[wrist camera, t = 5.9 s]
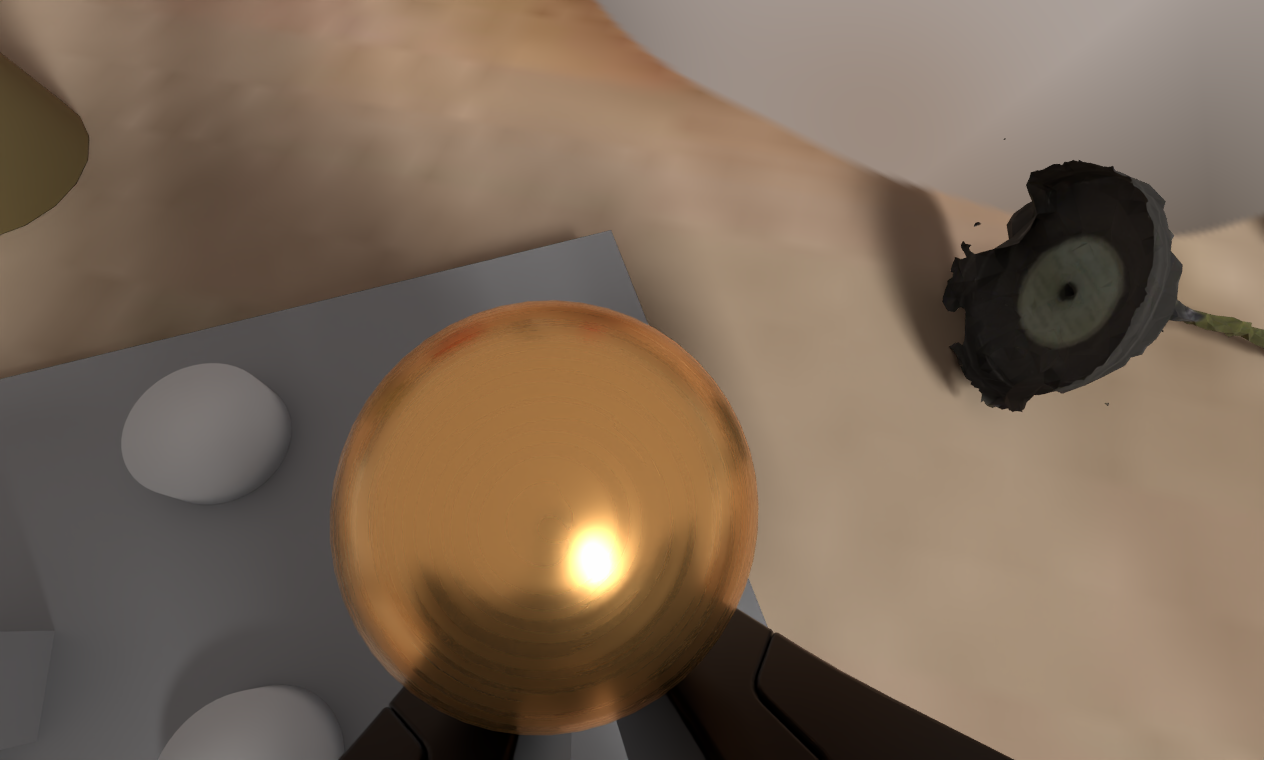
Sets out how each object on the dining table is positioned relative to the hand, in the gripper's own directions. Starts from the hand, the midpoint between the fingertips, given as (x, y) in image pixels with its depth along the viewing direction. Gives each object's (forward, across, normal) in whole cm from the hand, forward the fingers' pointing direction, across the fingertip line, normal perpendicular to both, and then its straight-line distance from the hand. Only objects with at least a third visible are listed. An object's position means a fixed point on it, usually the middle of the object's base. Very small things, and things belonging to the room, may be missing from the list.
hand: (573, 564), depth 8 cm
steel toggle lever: (+5, 0, -2) cm, 6 cm away
